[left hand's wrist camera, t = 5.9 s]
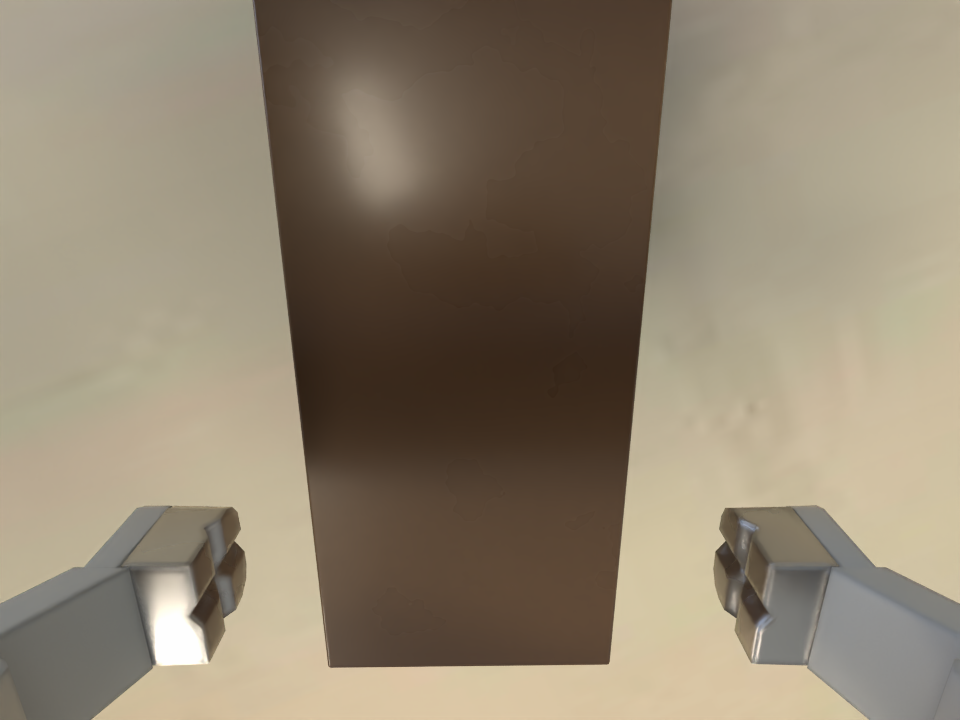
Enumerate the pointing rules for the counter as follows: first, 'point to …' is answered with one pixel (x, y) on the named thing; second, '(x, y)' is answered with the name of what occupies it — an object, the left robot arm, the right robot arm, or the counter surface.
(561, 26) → the bar
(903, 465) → the counter surface
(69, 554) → the counter surface
